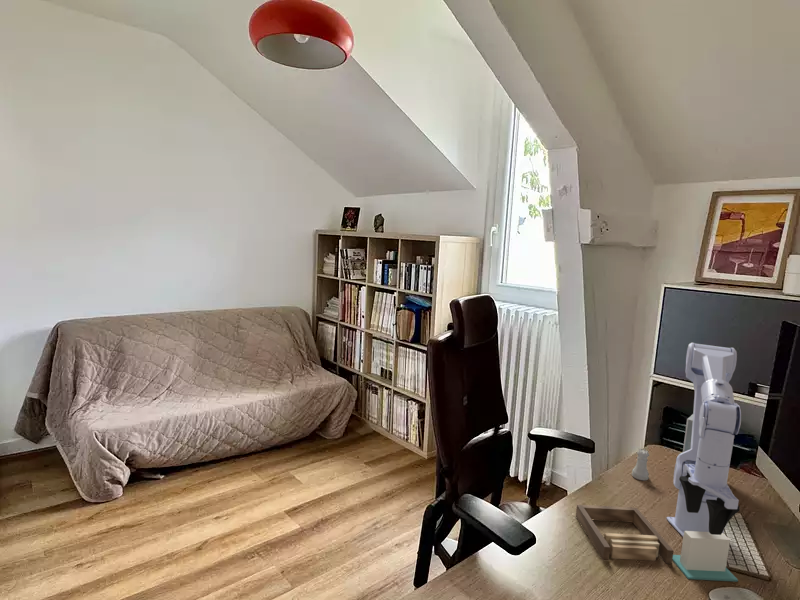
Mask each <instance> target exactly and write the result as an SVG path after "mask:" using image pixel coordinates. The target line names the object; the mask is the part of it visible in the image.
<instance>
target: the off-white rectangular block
mask: <svg viewBox="0 0 800 600" xmlns="http://www.w3.org/2000/svg"><path fill="white" fill-rule="evenodd" d="M730 543H731V539H730V538H729V537H728V536H727V535H726V534H725V533H722V534H721V535H712V534H710V533H709V532H699V531H684V536H682V543H681V545H682V546H681V551H680V555H681V556H680V563H681V564H682V565H683V566H684V568H685V569H686V570H704V571H725V569H726V568H727V563H728V562H727V561H728V557H729V550H730V545H731V544H730Z"/></svg>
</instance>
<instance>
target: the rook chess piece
mask: <svg viewBox="0 0 800 600" xmlns="http://www.w3.org/2000/svg"><path fill="white" fill-rule="evenodd" d="M636 454H637V457H636V459H637V460H636V464H635V465H634V468H633V469H632V470H631V475H632V477H633V478H634V479H636V480H637V481H642V482H643V481H647V480H648V479H650V478H649V475H650V473H649V469H648V468H647V466H648V465H647V464H648V462H649V461H648V458H649V457H650V453H649V451H648V450H646V449H645V448H644V449H643V448H638V451H636Z"/></svg>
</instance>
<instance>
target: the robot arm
mask: <svg viewBox="0 0 800 600" xmlns="http://www.w3.org/2000/svg"><path fill="white" fill-rule="evenodd" d="M737 353H738V351H737V350H736V349H735V348H734V347H724V346H717V345H716V346H715V345H709V344H701V343H695V342H690V343H689V344H688V346H687V349H686V355H685V371H684V372H685V378H686V379H687V380H688V381H689V380H690V381H691V383H692V384H693V385H692V386H693V388H694V389H693V390H694V399H693V413H692V415H693V423H692V436H691V449H690V450H687V451H685V452H683V451H682V452H681V453H679V454H678V455H677V457H676V459H675V464H674V471H673V486H674V487H675V489H677V490H678V493H677V500H676V508H675V516H666V520H667V521H668V523H670V524H671V525H672V527H673V528H674V529H675V530H676V531H677V533H679V534H680V535H681V536H682V537H683V536H684V531H699V532H709V533H710V534H712V535H721V534H722V533H723V534H725V533H724V532H725V528H726V527H727V525H728V524H729V521H730V520H731V519H732V518H733V517H735V515H736V514H738V513H739V512H740V509H741V507H740V506H739V502H740V500H739V499H738V497H736V496H735V494H733V491H732V489H730V486H729V485H728V477H729V472H730V465H731V458H732V454H733V447H734V439H735V435H738V434H739V432H740V428H741V423H742V410H741V406H740V405H739V404H738V403H737V402H735V399H734V398H735V397H734V389H733V387H732V385H731V384H730V381H731V380H732V378H733V374H734V372H735V370H736V368H737V367H736V366H737V359H738V357H737V356H738V354H737ZM688 463H690V464H688ZM694 464H695V465H694Z"/></svg>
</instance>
